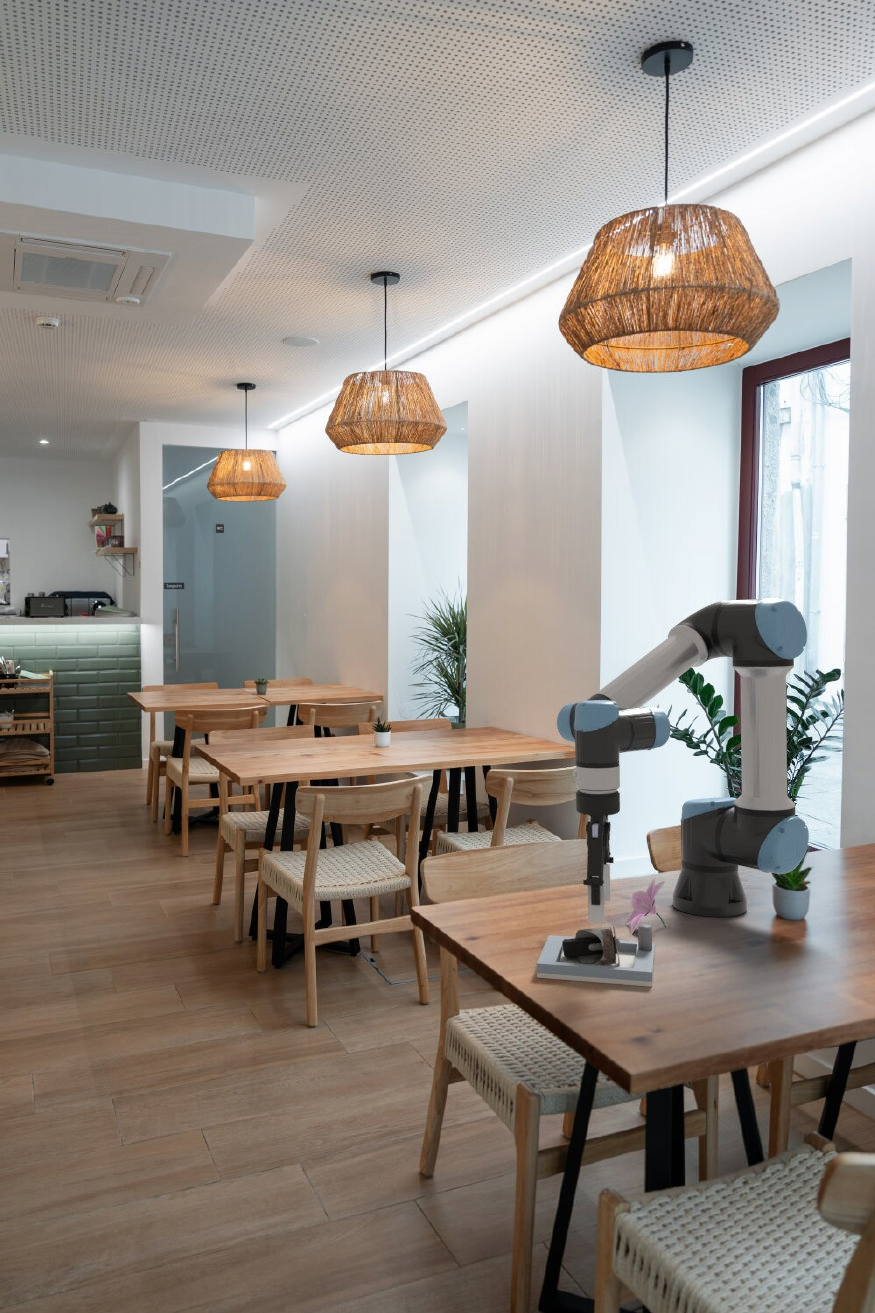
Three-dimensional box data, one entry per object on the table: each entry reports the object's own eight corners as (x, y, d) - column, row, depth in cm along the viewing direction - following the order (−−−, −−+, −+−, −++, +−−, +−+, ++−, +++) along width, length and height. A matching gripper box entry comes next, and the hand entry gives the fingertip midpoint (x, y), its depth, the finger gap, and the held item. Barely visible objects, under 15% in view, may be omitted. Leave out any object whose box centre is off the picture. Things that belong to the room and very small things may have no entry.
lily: (635, 921, 203) (614, 882, 201) (689, 905, 198) (667, 865, 197) (629, 956, 192) (606, 915, 191) (685, 940, 187) (663, 898, 186)
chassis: (654, 956, 177) (654, 920, 177) (652, 987, 162) (652, 948, 162) (548, 948, 182) (549, 913, 182) (536, 977, 166) (536, 939, 166)
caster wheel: (566, 965, 178) (622, 959, 176) (563, 972, 167) (623, 966, 165) (561, 927, 179) (617, 921, 177) (557, 932, 168) (616, 925, 167)
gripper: (582, 778, 184) (584, 890, 185) (568, 802, 160) (570, 932, 161) (623, 778, 182) (625, 892, 183) (615, 803, 158) (617, 934, 159)
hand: (599, 911), depth 172 cm, fingers open, 13 cm apart
